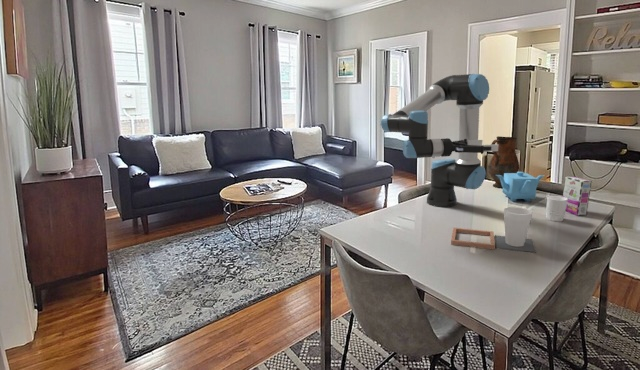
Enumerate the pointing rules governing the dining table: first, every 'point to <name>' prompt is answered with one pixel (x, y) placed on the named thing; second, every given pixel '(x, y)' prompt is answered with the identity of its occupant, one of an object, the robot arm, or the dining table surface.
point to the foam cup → (516, 225)
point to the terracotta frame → (473, 244)
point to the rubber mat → (526, 248)
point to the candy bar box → (577, 195)
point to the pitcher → (503, 159)
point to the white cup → (556, 208)
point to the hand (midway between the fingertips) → (489, 145)
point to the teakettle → (519, 185)
